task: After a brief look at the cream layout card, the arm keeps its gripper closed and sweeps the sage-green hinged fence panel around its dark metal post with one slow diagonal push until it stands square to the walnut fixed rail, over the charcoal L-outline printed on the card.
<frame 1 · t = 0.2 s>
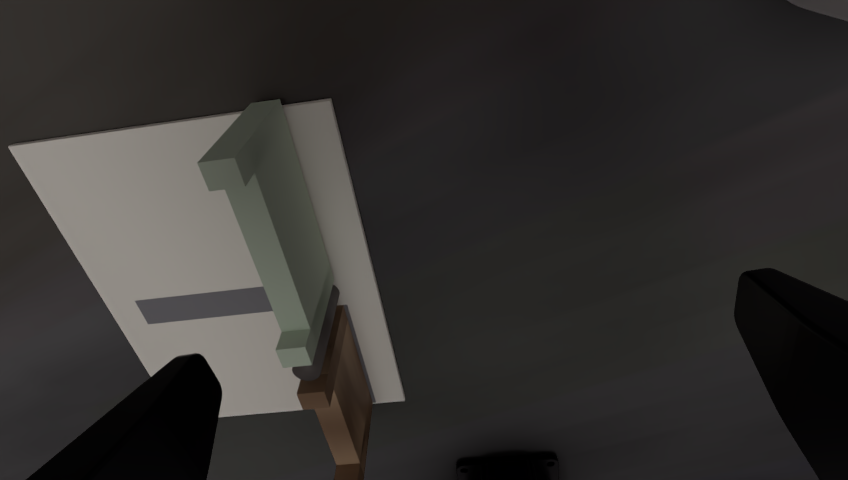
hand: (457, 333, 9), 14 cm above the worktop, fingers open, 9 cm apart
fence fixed: (328, 288, 26), resting on layout card
layout card: (240, 290, 27), on the worktop
fence panel: (281, 234, 21), point 3 cm above the worktop, hinge at 0.0°
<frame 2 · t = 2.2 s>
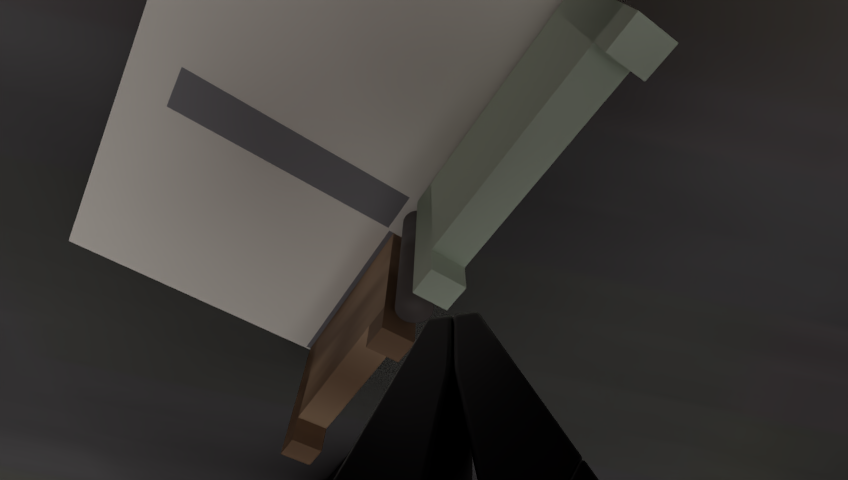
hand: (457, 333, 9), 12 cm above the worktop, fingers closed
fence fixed: (418, 219, 21), resting on layout card
layout card: (323, 152, 19), on the worktop
fence panel: (512, 144, 16), point 3 cm above the worktop, hinge at 0.0°
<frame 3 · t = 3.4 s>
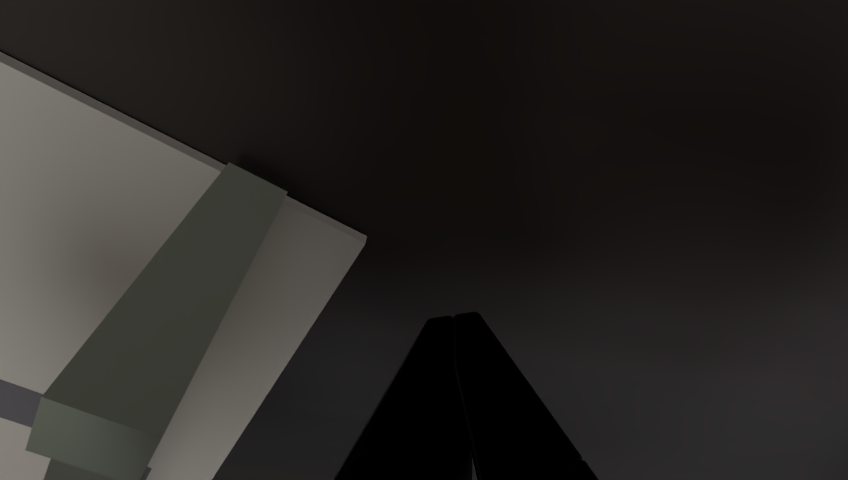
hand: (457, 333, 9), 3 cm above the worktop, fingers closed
fence panel: (128, 428, 10), point 3 cm above the worktop, hinge at 0.0°
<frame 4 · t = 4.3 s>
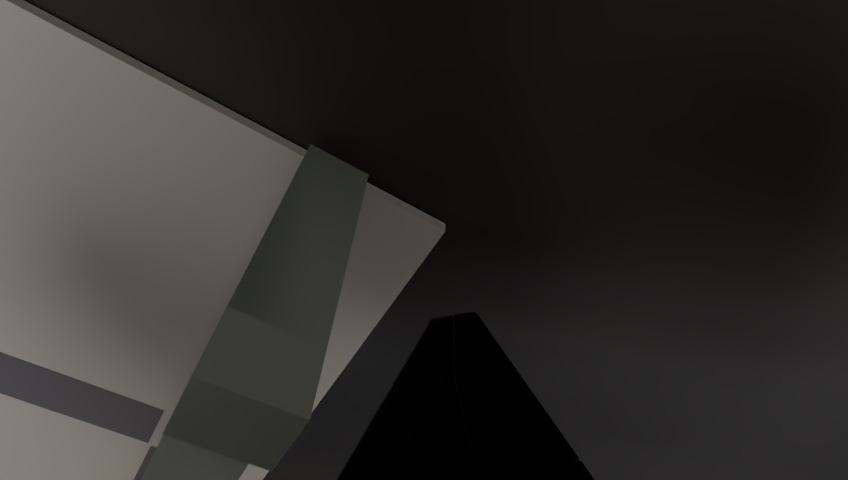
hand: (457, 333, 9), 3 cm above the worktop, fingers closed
layout card: (27, 358, 13), on the worktop
fence panel: (210, 418, 9), point 3 cm above the worktop, hinge at 0.5°, touching gripper
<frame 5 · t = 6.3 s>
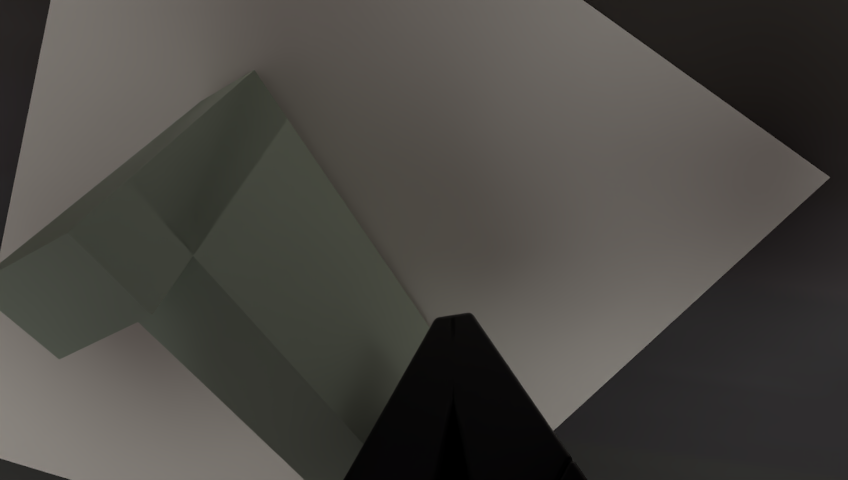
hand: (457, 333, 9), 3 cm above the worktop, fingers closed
layout card: (322, 326, 13), on the worktop
fence panel: (342, 363, 9), point 3 cm above the worktop, hinge at 58.6°, touching gripper
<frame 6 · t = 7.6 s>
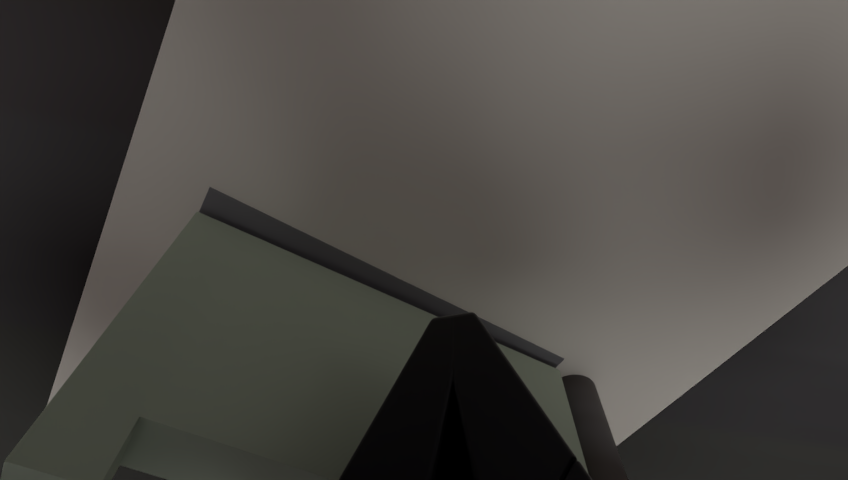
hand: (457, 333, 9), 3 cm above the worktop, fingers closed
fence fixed: (569, 382, 14), resting on layout card
layout card: (433, 298, 12), on the worktop
fence panel: (372, 417, 10), point 3 cm above the worktop, hinge at 91.9°, touching gripper
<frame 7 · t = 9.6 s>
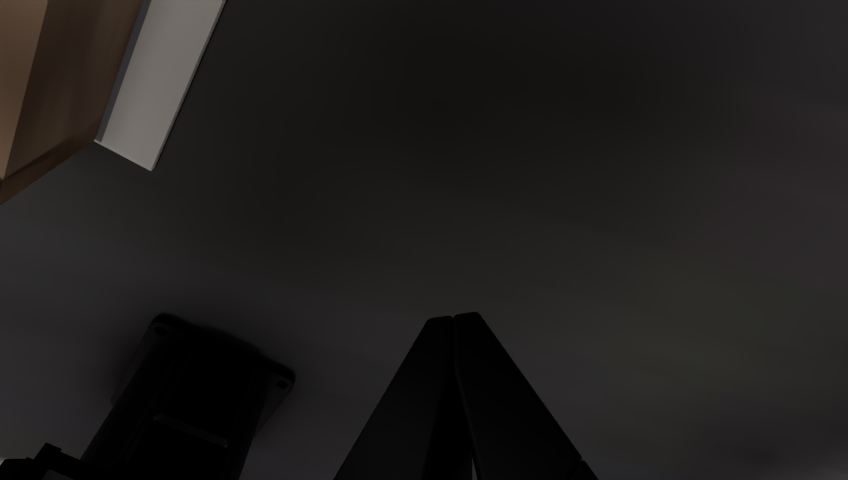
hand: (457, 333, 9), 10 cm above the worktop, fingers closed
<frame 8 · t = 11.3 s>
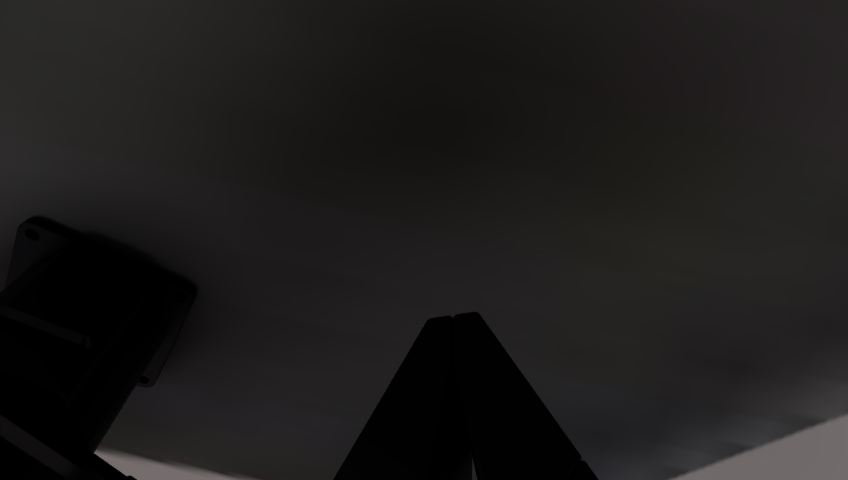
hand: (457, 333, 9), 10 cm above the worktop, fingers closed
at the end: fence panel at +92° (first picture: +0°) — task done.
